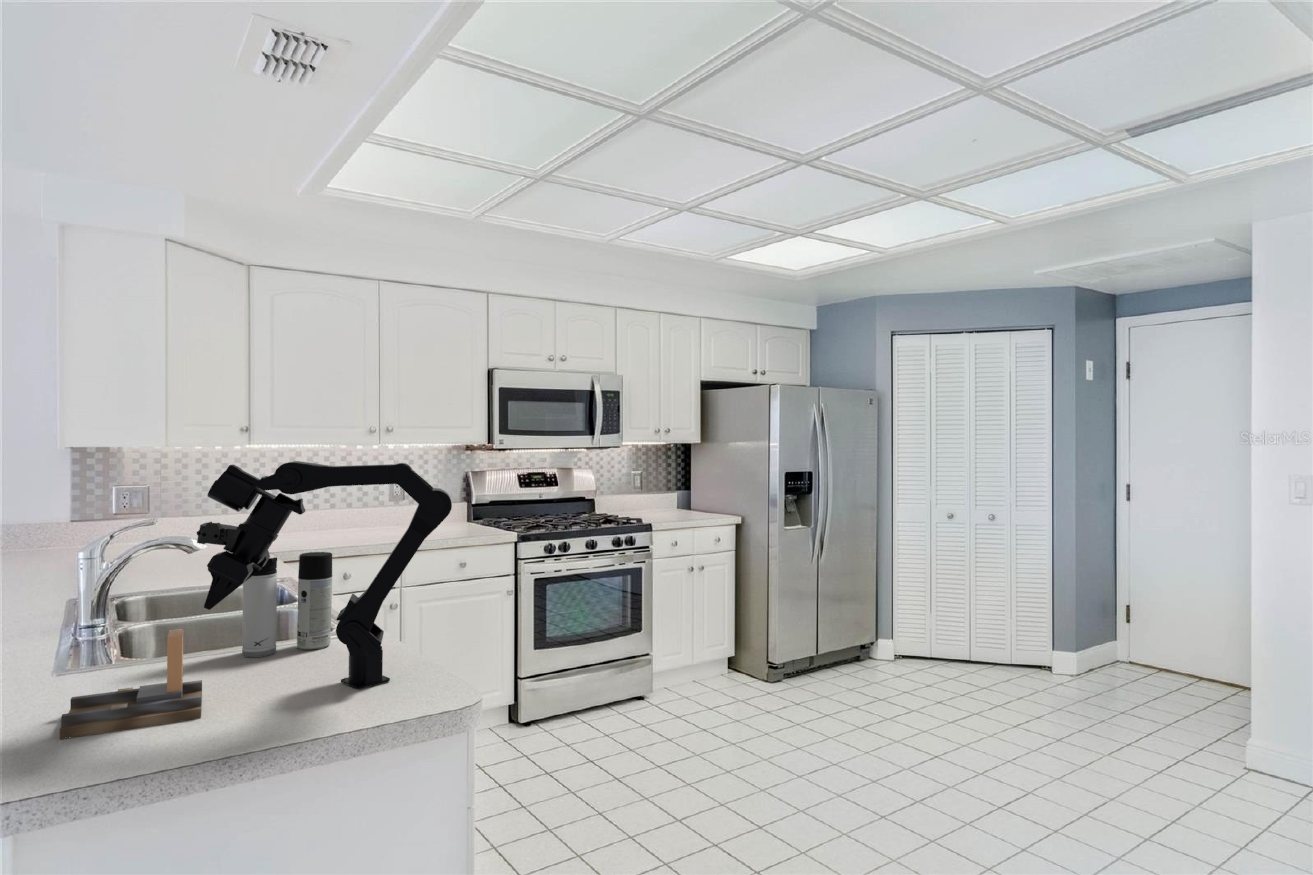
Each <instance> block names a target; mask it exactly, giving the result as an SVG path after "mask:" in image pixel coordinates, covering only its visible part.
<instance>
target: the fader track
mask: <svg viewBox="0 0 1313 875" xmlns="http://www.w3.org/2000/svg"><path fill="white" fill-rule="evenodd" d="M139 688H140V687H138V688H134V687H125V688H118V689H117V690H116V691H109V692H101V693H93V694H84V695H78V696H72V697H71V698H70V704H69V705H70V706H69V707H70V709H69V711H68V713H63V714H62V715H61V717H60V719H61V720H60V722H61V723H60V728H59V740H64V739H63V738H66V739H70V738H69V737H73V738H77V737H78V738H79V737H84V736H90V735H97V734H105V733H111V732H116V731H117V732H118V731H123V730H124V731H125V730H132V729H137V728H144V727H150V726H158V725H163V724H169V723H176V722H177V723H178V722H182V721H183V722H184V721H191V720H198V719H202V704H203V702H202V701H203V680H202V679H201V680H199V679H198V680H194V681H193V680H192V681H186V682H185V681H183V694H182V698H175V699H168V700H160V701H153V702H146V703H139V704H136V699H137V695H138V691H139Z"/></svg>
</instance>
